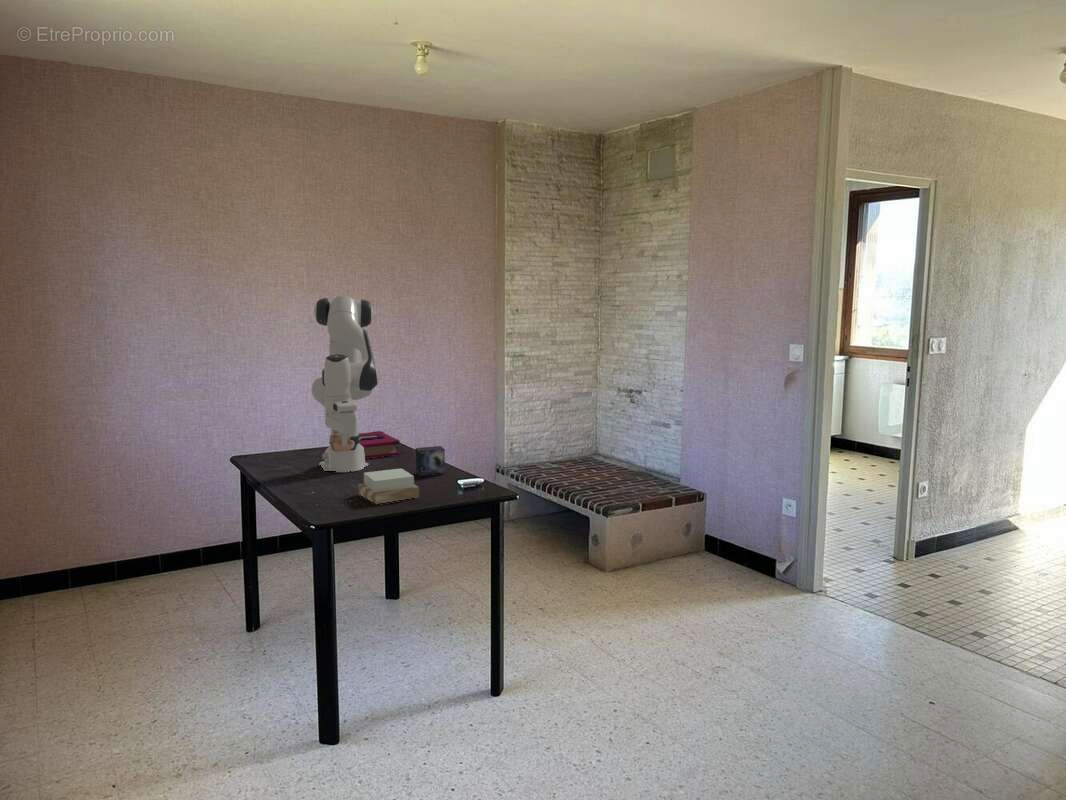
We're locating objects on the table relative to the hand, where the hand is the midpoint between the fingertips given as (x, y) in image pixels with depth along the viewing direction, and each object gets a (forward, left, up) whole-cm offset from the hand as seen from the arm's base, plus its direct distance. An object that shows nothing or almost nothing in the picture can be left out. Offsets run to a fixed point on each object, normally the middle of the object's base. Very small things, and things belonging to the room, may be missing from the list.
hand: (340, 443), depth 259 cm
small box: (-21, +44, -21) cm, 53 cm away
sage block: (0, +17, -17) cm, 24 cm away
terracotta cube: (0, 0, -2) cm, 2 cm away
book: (-76, +40, -22) cm, 88 cm away
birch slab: (0, +17, -22) cm, 27 cm away
